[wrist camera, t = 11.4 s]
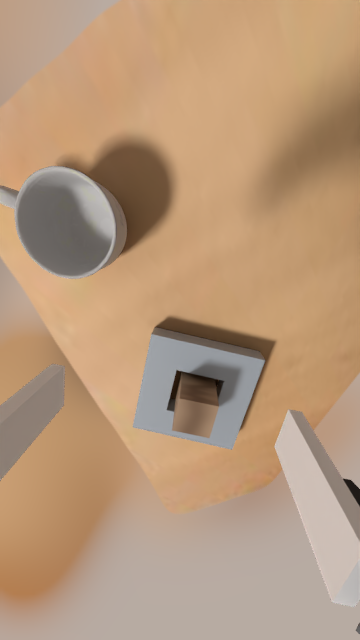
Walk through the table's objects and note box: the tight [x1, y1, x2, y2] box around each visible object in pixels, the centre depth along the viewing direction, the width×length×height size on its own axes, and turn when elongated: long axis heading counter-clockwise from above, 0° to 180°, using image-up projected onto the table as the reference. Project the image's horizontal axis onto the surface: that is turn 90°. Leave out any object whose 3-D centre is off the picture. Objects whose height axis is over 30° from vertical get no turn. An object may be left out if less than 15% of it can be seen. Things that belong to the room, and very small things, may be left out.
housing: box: [133, 327, 265, 450], centre depth 37 cm, size 16×16×3 cm
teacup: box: [0, 166, 127, 279], centre depth 28 cm, size 14×11×8 cm
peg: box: [172, 371, 219, 438], centre depth 34 cm, size 5×5×8 cm
